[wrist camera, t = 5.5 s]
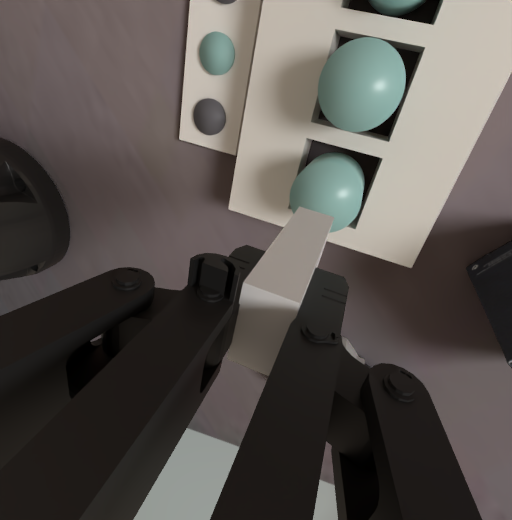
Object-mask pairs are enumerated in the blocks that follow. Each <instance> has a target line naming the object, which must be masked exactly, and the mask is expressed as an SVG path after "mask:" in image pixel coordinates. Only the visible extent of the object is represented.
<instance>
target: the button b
mask: <svg viewBox="0 0 512 520" xmlns="http://www.w3.org/2000/svg"><path fill="white" fill-rule="evenodd" d="M405 83H406V73H405V67H404V64H403V61H402V59H401V57H400V55H399V53H398V52H397V51H396V49H395V48H394V47H392V46H391V45H390V44H389V43H387V42H385V41H383V40H381V39H377V38H372V37H363V38H357V39H354V40H351V41H349V42H347V43H345V44H344V45H342V46H341V47H339V48H338V49H337V50H336V51H335V52H334V53H333V54H332V55H331V56H330V58H329V59H328V60H327V62H326V64H325V65H324V67H323V69H322V72H321V75H320V78H319V83H318V99H319V104H320V107H321V109H322V112H323V113H324V115H325V117H326V118H327V119H328V120H329V121H330V122H331V123H332V124H333V125H335V126H336V127H338V128H340V129H342V130H345V131H350V132H362V131H367V130H370V129H373V128H375V127H377V126H379V125H380V124H382V123H383V122H384V121H386V120H387V119H388V118H389V117H390V116H391V115H392V114H393V112H394V111H395V110H396V108H397V107H398V105H399V103H400V101H401V99H402V96H403V93H404V89H405Z"/></svg>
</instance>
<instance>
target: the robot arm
mask: <svg viewBox="0 0 512 520" xmlns="http://www.w3.org/2000/svg"><path fill="white" fill-rule="evenodd" d="M333 220H334V217H332V216H329V215H325V214H322V213H319V212H316V211H313V210H309V209H306V208H303V207H300V206H299V208H298V209H297V210H296V212H295V213H294V214H293V216H292V217H291V218H290V220H289V221H288V223H287V224H286V225H285V227H284V228H283V229H282V231H281V232H280V233H279V235H278V236H277V237H276V239H275V240H274V241H273V243H272V244H271V246H270V247H269V248H268V250H267V251H263V250H260V249H257V248H254V247H251V246H248V245H245V246H242V247H239V248H237V249H235V250H234V251H233V252H232V253H231V254H230V255H229V257H226V256H223V255H219V254H213V253H204V254H199V255H196V256H194V257H192V258H191V259H190V267H189V276H188V285H187V286H186V287H185V288H184V289H183V290H169V289H163V288H156V287H154V286H155V282H154V278H153V276H151V275H150V274H149V273H148V272H146V271H144V270H141V269H138V268H131V267H127V268H118V269H114V270H110V271H108V272H105V273H103V274H101V275H98V276H96V277H93V278H91V279H89V280H86V281H84V282H81V283H79V284H76V285H74V286H72V287H69V288H67V289H64V290H62V291H60V292H57V293H55V294H52V295H50V296H47V297H45V298H43V299H40V300H38V301H35V302H33V303H31V304H28V305H26V306H23V307H21V308H19V309H16V310H14V311H11V312H9V313H6V314H4V315H2V316H0V520H133V519H134V517H135V516H136V514H137V512H138V510H139V509H140V507H141V505H142V504H143V502H144V500H145V498H146V497H147V495H148V493H149V491H150V490H151V488H152V486H153V485H154V483H155V481H156V480H157V478H158V476H159V474H160V473H161V471H162V469H163V468H164V466H165V464H166V463H167V461H168V459H169V457H170V456H171V454H172V452H173V451H174V449H175V447H176V445H177V444H178V442H179V440H180V439H181V437H182V435H183V433H184V432H185V430H186V428H187V427H188V425H189V423H190V421H191V420H192V418H193V416H194V415H195V413H196V411H197V409H198V408H199V406H200V404H201V403H202V401H203V399H204V397H205V396H206V394H207V392H208V391H209V389H210V387H211V385H212V384H213V382H214V380H215V379H216V377H217V375H218V373H219V371H220V368H221V364H222V359H223V357H224V355H225V354H226V352H227V350H228V349H229V351H228V355H227V359H228V360H231V361H233V362H236V363H238V364H240V365H243V366H245V367H248V368H250V369H252V370H255V371H257V372H259V373H262V374H264V375H267V376H269V377H268V380H267V382H266V384H265V387H264V389H263V392H262V394H261V397H260V399H259V401H258V404H257V406H256V409H255V411H254V414H253V416H252V419H251V421H250V423H249V426H248V428H247V431H246V433H245V436H244V438H243V441H242V443H241V445H240V448H239V450H238V453H237V455H236V458H235V460H234V463H233V465H232V467H231V470H230V472H229V475H228V478H227V480H226V482H225V484H224V487H223V489H222V492H221V494H220V497H219V499H218V502H217V504H216V506H215V509H214V511H213V514H212V516H211V519H210V520H313V515H314V509H315V503H316V497H317V491H318V485H319V480H320V474H321V468H322V462H323V456H324V450H325V444H326V441H327V442H328V443H329V444H331V445H332V449H331V453H332V463H333V473H334V483H335V493H336V502H337V511H338V520H482V518H481V516H480V513H479V511H478V509H477V506H476V504H475V502H474V499H473V497H472V494H471V492H470V490H469V487H468V485H467V483H466V480H465V478H464V475H463V473H462V471H461V468H460V466H459V464H458V461H457V459H456V456H455V454H454V452H453V449H452V447H451V444H450V442H449V440H448V437H447V435H446V433H445V430H444V428H443V425H442V423H441V421H440V418H439V416H438V414H437V411H436V409H435V406H434V404H433V402H432V399H431V397H430V395H429V393H428V391H427V390H426V388H425V386H424V385H423V383H422V382H421V381H420V380H418V379H417V378H416V377H415V376H414V375H413V374H412V373H410V372H408V371H407V370H405V369H404V368H401V367H399V366H396V365H393V364H385V363H381V364H378V365H375V366H373V367H372V369H370V368H369V367H367V366H366V365H364V364H363V363H361V362H360V361H358V360H357V359H356V358H354V357H353V356H352V355H351V354H350V353H349V352H348V351H347V350H346V348H345V347H344V345H343V343H342V336H341V335H340V333H341V327H342V322H343V316H344V311H345V304H346V300H347V294H348V289H349V286H348V284H347V282H346V280H345V278H344V277H342V276H339V275H336V274H333V273H330V272H327V271H324V270H322V269H319V268H317V267H318V264H319V261H320V258H321V255H322V252H323V249H324V246H325V244H326V241H327V238H328V235H329V232H330V229H331V226H332V223H333ZM69 239H70V228H69V221H68V216H67V212H66V209H65V206H64V204H63V201H62V199H61V197H60V194H59V192H58V191H57V189H56V187H55V185H54V184H53V182H52V180H51V179H50V177H49V176H48V175H47V173H46V172H45V171H44V170H43V168H42V167H41V166H40V165H39V164H38V163H37V162H36V161H35V160H34V159H33V158H32V157H31V156H30V155H29V154H28V153H26V152H25V151H24V150H23V149H21V148H20V147H18V146H17V145H15V144H13V143H11V142H9V141H7V140H5V139H2V138H0V281H1V280H6V279H12V278H17V277H23V276H29V275H33V274H37V273H39V272H42V271H43V270H45V269H47V268H49V267H51V266H53V265H55V264H57V263H58V262H59V261H60V260H61V259H62V258H63V257H64V255H65V253H66V251H67V249H68V245H69ZM99 335H101V338H100V339H98V340H96V341H93V342H90V340H92V339H94V338H95V337H97V336H99Z"/></svg>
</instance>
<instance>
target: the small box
mask: <svg viewBox="0 0 512 520" xmlns="http://www.w3.org/2000/svg"><path fill="white" fill-rule="evenodd" d="M466 270H467V272H468V274H469V277H470V279H471V281H472V283H473V285H474V288H475V290H476V292H477V294H478V297H479V299H480V301H481V303H482V306H483V308H484V310H485V312H486V315H487V317H488V319H489V321H490V324H491V326H492V328H493V330H494V333H495V335H496V337H497V340H498V342H499V344H500V346H501V348H502V351H503V353H504V355H505V358H506V361H507V363H508V365H509V366H510V367H511V368H512V241H511V242H509V243H507V244H506V245H504V246H502V247H500V248H498V249H497V250H495V251H493V252H492V253H489V254H486V255H485V256H484V257H482V258H481V259H479V260H478V261H476V262H475V263H473V264H472V265H470V266H468V267H467V268H466Z"/></svg>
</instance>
